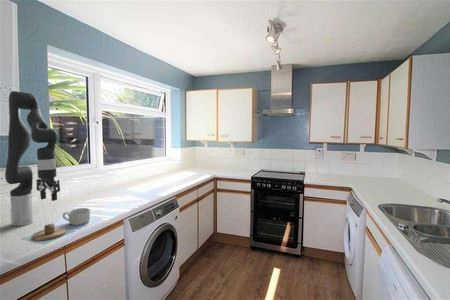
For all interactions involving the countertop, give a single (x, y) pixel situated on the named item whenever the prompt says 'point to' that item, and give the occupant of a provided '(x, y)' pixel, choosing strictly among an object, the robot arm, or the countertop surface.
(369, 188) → the countertop surface
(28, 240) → the mat
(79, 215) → the teacup
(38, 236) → the lid
